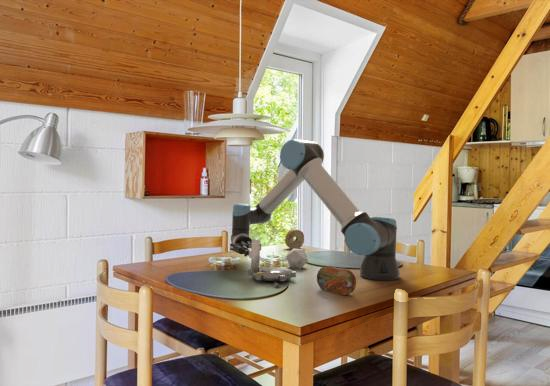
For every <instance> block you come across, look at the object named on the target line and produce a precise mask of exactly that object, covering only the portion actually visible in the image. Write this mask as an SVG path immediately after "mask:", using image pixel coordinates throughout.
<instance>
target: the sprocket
mask: <svg viewBox="0 0 550 386" xmlns="http://www.w3.org/2000/svg"><path fill="white" fill-rule="evenodd" d="M251 239H252V252H251V258H250V259H251V260H250V262H251V263H250V264H251V265H250V266H251V267H250V269H248V270H247V276H249V277H251V278H253V279H255V281H260V282H261V281H265V280H266V281H265V282H271V281H274V282H286V280H287V281H288V280H290V279H293V278H297V271H295V270H292V269H290V268H288V267H284V266H265V265H263V266H260V261H261V260H260V258H261V256H260V255H261V250H260V244H261V239H260V238H257V237H254V238H253V237H252V238H251Z"/></svg>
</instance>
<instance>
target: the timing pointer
mask: <svg viewBox="0 0 550 386" xmlns="http://www.w3.org/2000/svg"><path fill="white" fill-rule="evenodd" d="M274 285H275V286H276V287H279V288H280V284H279V283H278V281H274V282H273V286H274ZM275 286H274V287H275Z"/></svg>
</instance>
